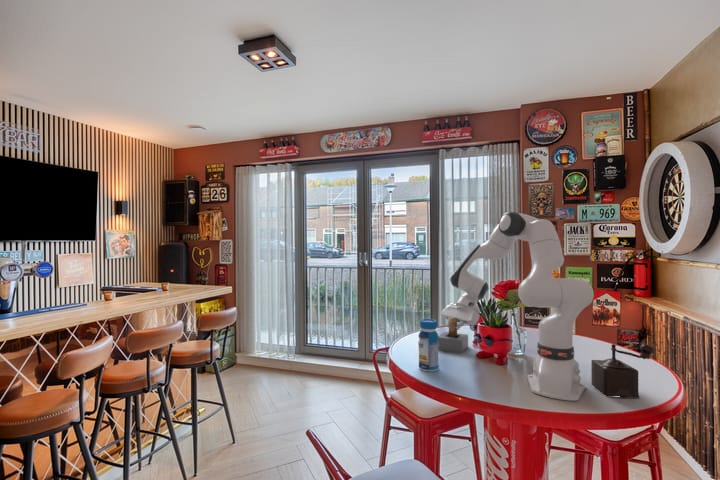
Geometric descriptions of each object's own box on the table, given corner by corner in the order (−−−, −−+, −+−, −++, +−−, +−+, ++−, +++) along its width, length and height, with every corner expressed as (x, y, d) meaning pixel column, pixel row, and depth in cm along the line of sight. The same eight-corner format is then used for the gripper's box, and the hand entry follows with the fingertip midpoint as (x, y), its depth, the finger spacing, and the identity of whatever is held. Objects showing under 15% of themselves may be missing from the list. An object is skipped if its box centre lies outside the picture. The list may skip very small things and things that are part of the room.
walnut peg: (455, 343, 172) (455, 319, 172) (447, 342, 174) (447, 318, 174) (458, 341, 176) (457, 317, 176) (450, 340, 178) (449, 316, 178)
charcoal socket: (462, 353, 167) (462, 340, 167) (437, 349, 173) (437, 337, 173) (468, 346, 177) (468, 334, 177) (444, 343, 183) (444, 331, 183)
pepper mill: (606, 397, 119) (606, 344, 119) (590, 384, 130) (590, 335, 130) (658, 400, 116) (657, 346, 117) (637, 387, 127) (636, 337, 127)
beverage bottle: (439, 372, 142) (439, 323, 142) (418, 371, 143) (417, 322, 144) (438, 365, 150) (438, 318, 150) (418, 364, 152) (418, 317, 152)
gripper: (446, 299, 187) (433, 320, 182) (478, 305, 170) (465, 328, 165) (452, 306, 190) (439, 327, 184) (484, 313, 173) (471, 336, 167)
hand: (452, 327), depth 174 cm, fingers closed on walnut peg, 4 cm apart
